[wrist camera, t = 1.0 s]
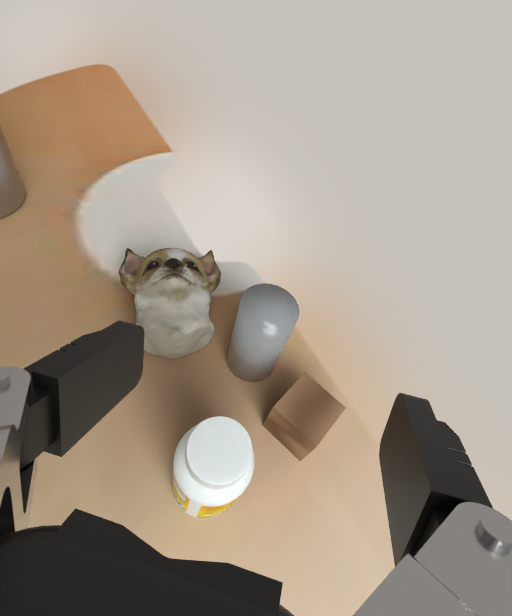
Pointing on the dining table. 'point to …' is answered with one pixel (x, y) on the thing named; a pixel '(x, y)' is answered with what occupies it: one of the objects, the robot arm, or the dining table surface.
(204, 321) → the ceramic sculpture
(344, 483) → the dining table surface
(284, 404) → the walnut block
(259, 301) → the light grey cylinder
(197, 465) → the supplement bottle
